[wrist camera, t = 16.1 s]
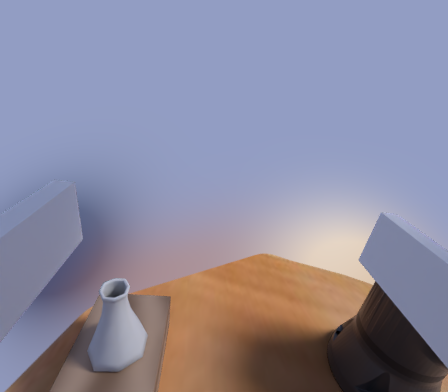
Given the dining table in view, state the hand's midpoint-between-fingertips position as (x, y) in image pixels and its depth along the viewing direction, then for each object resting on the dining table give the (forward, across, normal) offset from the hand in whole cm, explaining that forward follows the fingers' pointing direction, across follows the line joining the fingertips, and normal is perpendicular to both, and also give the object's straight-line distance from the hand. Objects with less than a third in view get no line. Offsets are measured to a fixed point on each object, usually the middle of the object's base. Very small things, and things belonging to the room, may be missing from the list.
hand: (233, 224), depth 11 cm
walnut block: (+12, -10, -34) cm, 37 cm away
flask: (+12, -10, -27) cm, 31 cm away
